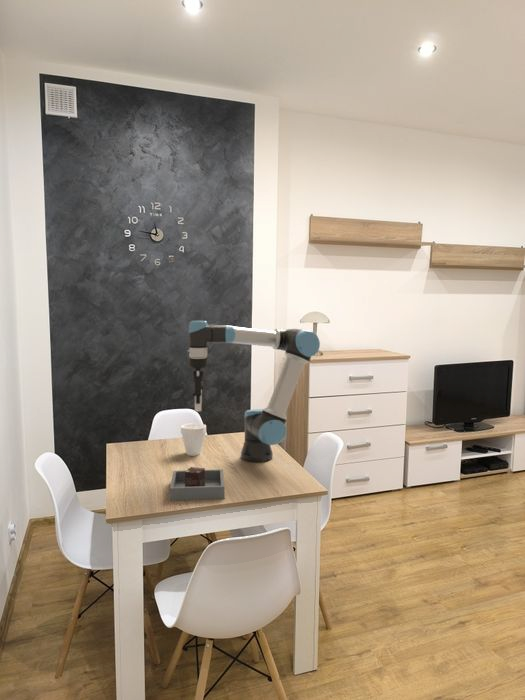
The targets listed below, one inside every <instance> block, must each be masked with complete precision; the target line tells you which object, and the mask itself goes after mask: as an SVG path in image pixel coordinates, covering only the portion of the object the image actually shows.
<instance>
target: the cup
mask: <svg viewBox="0 0 525 700" xmlns="http://www.w3.org/2000/svg"><path fill="white" fill-rule="evenodd" d="M206 433H207V425H206V424H204V423H197V422H195V423H194V422H193V423H185V424H182V425H180V434H181V435H182V436H181V437H182V440H183V443H184V449H185V453H186V455H187V456H193V457H194V456H196V457H197V456H200V455H201V453H202V450H203V445H204V440H205V436H206Z"/></svg>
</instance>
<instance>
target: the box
mask: <svg viewBox="0 0 525 700" xmlns="http://www.w3.org/2000/svg"><path fill="white" fill-rule="evenodd" d="M186 470H187V471H185V487H194V486H205V470H206V469H205V467H195V466H191V467H189V468H188V469H186Z"/></svg>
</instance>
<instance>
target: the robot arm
mask: <svg viewBox="0 0 525 700" xmlns="http://www.w3.org/2000/svg"><path fill="white" fill-rule="evenodd" d="M188 325H189V326H188V344H189V345H188V348H189V349H187V353H189V354H188V355H189V359H188V363H189V364H188V367H189V368H192V369H193V368H194V369H195V370H193V382H194V392H193V393H192V396H194V412H202V405H203V390H204V386H202V385H203V383H202V382H203V376H204V371H203V370H202V369H203V368H207V367H208V344H236V345H237V344H238V345H249V346H251V345H252V346H261V347H269V348H270V347H271V348H272V349H273V350H278V351H280V350H281V351H283V352H285V353H284V355H285V356H286V358H285V362H284V363H283V367H282V369H281V371H280V374H279V377H278V380H277V382H276V384H275V387H274V390H273V392H272V395H271V397H270V400H269V402H268V405H267V406H266V407H265V408H262V409H261V408H259V409H258V408H257V409H256V408H254V409H247V410H246V411H245V412H244V418H243V419H244V443H243V446H242V448H241V451H240V459H241V460H243V461H245V462H252V463H263V462H268V461H271V460H273V458H272V457H273V454H274V453H273V450H272V446H274V445H275V446H276V445H278V444H280V443H281V442H282V441H284V440H283V439H285V437H286V434H287V429H286V422H287V420H288V419H287V415H286V413H287V410H288V408H289V405H290V403H291V400H292V397H293V395H294V392H295V390H296V387H297V385H298V382H299V380H300V376H301V375H302V373H303V369H304V367H305V366H306V365H307V364H309V363H310V361H311V359H312V356H315V355H317V353H318V352H319V350H320V346H321V345H320V344H321V343H320V342H321V341H320V338H319V336H318V335H317V334H316V333H315V332H314V331H312V330H309V329H307V328H305V329H304V328H303V329H302V328H301V329H299V328H287V329H286V328H284V329H281V328H280V329H278V328H275V329H274V330H268V329H262V328H261V329H259V328H252V327H251V328H250V327H249V328H248V327H241V326H233V325H232V324H231V325H230V324H229V325H227V324H224V325H222V324H211V323H209V324H208V322H207V320H191V321H190V322H189V324H188ZM270 459H271V460H270ZM267 460H268V461H267ZM262 461H263V462H262Z"/></svg>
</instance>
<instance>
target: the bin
mask: <svg viewBox="0 0 525 700" xmlns="http://www.w3.org/2000/svg"><path fill="white" fill-rule="evenodd" d="M187 470H188V469H185V470H182V469H181V470H173V471H172V475H171V482H170V485H169V501H170V502H174V501H197V500H224V499H225V478H224V469H223V468H221V469H217V468H216V469H205V486H194V487H185V471H187Z"/></svg>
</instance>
